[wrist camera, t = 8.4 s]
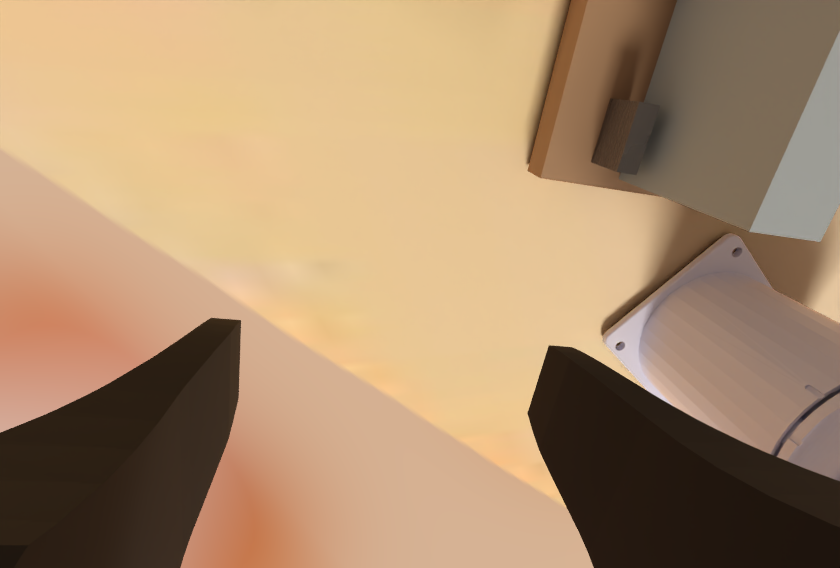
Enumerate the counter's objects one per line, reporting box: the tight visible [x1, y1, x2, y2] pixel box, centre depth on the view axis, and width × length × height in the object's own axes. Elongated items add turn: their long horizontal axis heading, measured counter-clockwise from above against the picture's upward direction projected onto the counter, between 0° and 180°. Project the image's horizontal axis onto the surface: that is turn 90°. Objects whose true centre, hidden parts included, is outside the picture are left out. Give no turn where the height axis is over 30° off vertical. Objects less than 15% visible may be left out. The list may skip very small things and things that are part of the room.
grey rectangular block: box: [619, 0, 840, 242], centre depth 15 cm, size 3×10×7 cm, turn 171°
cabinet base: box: [528, 0, 677, 197], centre depth 18 cm, size 9×12×2 cm
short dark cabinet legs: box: [591, 98, 660, 175], centre depth 17 cm, size 5×9×2 cm, turn 170°
